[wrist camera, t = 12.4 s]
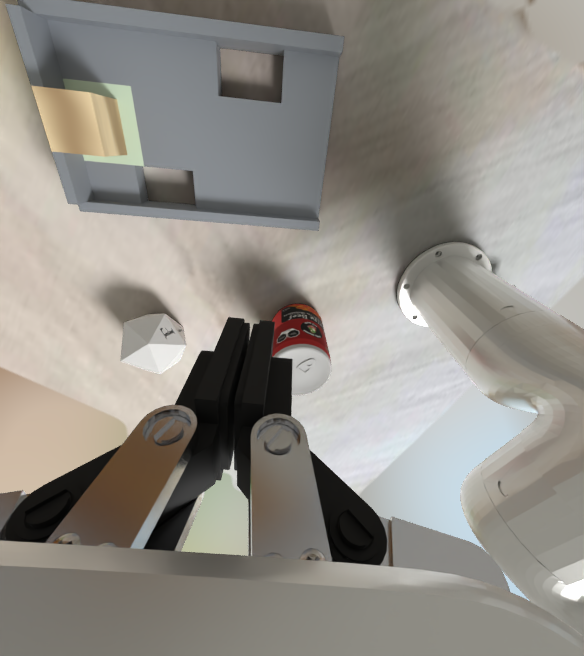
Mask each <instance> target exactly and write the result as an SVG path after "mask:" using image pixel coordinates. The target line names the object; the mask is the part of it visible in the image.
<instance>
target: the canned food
mask: <svg viewBox="0 0 584 656" xmlns="http://www.w3.org/2000/svg"><path fill="white" fill-rule="evenodd" d="M272 322H275V329H274V341H273V353H272V357H278V358H289V359H292V395H306V394H309V393H312V392H315V391H317V390H318V389H320V388H321V387H323V386H324V385H325V384H326V382H327V381H328V380H329V378H330V375H331V371H332V370H331V360H330V355H329V350H328V346H327V342H326V337H325V333H324V329H323V324H322V320H321V317H320V316H319V314H318V313H317V312H316V311H315V310H314V309H313V308H311V307H310V306H307V305H304V304H291V305H288V306H286V307H284V308H282V309H281V310H280V311H278V313H277V314H276V315H275V316H274V318H273V320H272Z"/></svg>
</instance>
